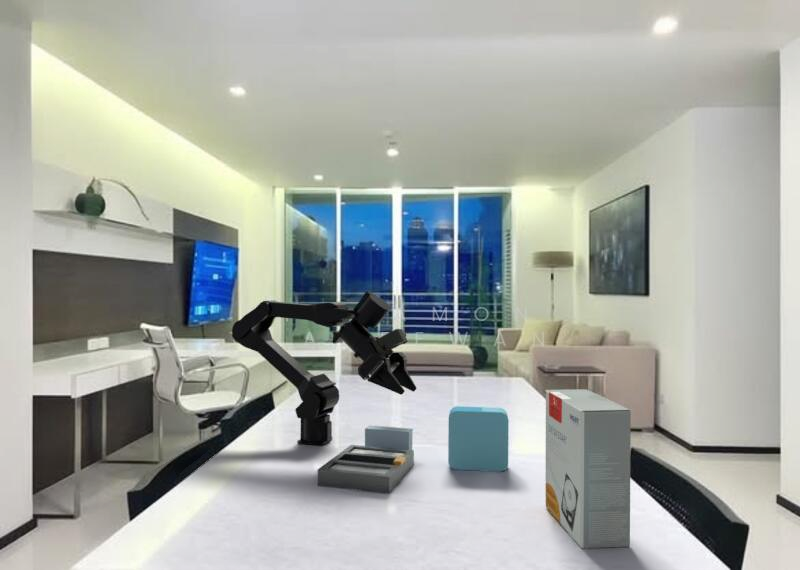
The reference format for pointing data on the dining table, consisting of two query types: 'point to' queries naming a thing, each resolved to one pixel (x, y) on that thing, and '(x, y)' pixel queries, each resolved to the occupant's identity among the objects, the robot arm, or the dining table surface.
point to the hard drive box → (588, 467)
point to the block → (388, 437)
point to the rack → (366, 468)
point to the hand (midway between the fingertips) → (409, 391)
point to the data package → (478, 439)
